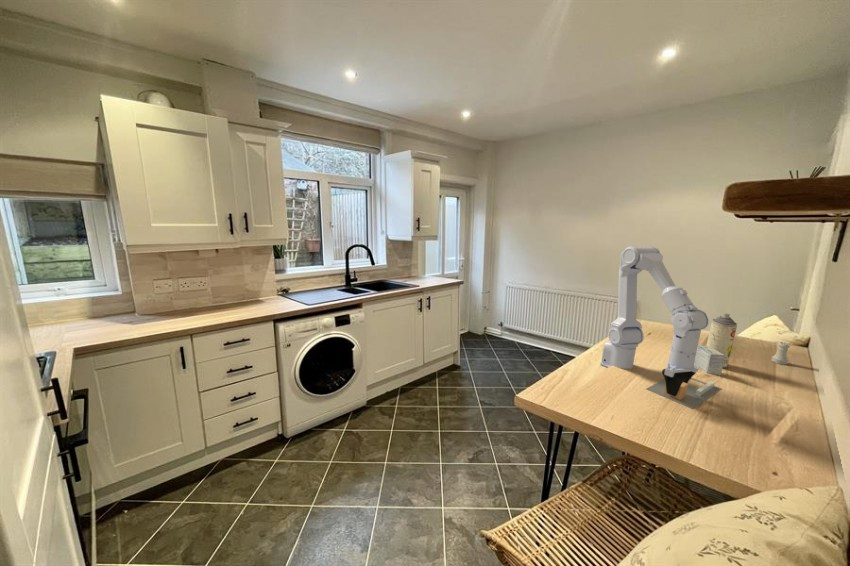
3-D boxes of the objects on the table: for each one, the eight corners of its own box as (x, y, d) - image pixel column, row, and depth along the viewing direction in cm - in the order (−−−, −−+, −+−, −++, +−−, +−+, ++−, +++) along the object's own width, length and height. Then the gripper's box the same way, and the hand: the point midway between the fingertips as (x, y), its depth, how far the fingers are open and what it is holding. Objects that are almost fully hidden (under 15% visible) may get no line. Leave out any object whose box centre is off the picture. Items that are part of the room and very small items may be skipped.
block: (664, 393, 96) (666, 381, 95) (670, 390, 98) (672, 378, 97) (679, 399, 92) (682, 387, 92) (685, 396, 94) (688, 384, 94)
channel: (644, 393, 98) (646, 384, 98) (676, 376, 110) (677, 368, 109) (691, 413, 88) (694, 404, 88) (721, 392, 100) (723, 384, 99)
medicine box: (720, 378, 109) (726, 355, 107) (705, 377, 110) (710, 354, 108) (705, 368, 116) (710, 346, 115) (691, 367, 117) (696, 345, 115)
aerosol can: (727, 370, 115) (740, 317, 111) (702, 364, 120) (714, 313, 115) (726, 364, 120) (738, 313, 116) (703, 358, 125) (713, 309, 121)
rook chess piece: (775, 363, 122) (780, 344, 120) (768, 359, 126) (773, 340, 124) (790, 365, 120) (796, 346, 118) (783, 361, 124) (788, 342, 122)
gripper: (689, 360, 85) (680, 406, 88) (710, 350, 93) (701, 392, 95) (659, 351, 91) (651, 394, 94) (681, 342, 98) (673, 381, 101)
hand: (674, 392), depth 95 cm, fingers closed on block, 4 cm apart
